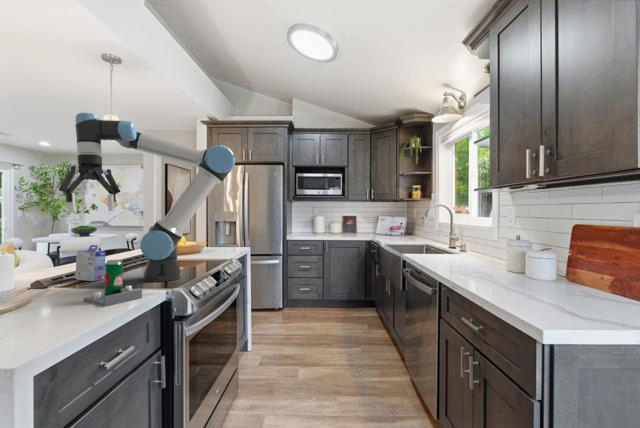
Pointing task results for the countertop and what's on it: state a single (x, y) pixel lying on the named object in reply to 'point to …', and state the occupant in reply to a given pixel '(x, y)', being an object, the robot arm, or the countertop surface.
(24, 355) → the countertop surface
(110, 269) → the soda can
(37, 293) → the countertop surface
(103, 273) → the ink cartridge box
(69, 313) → the countertop surface
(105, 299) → the dock
